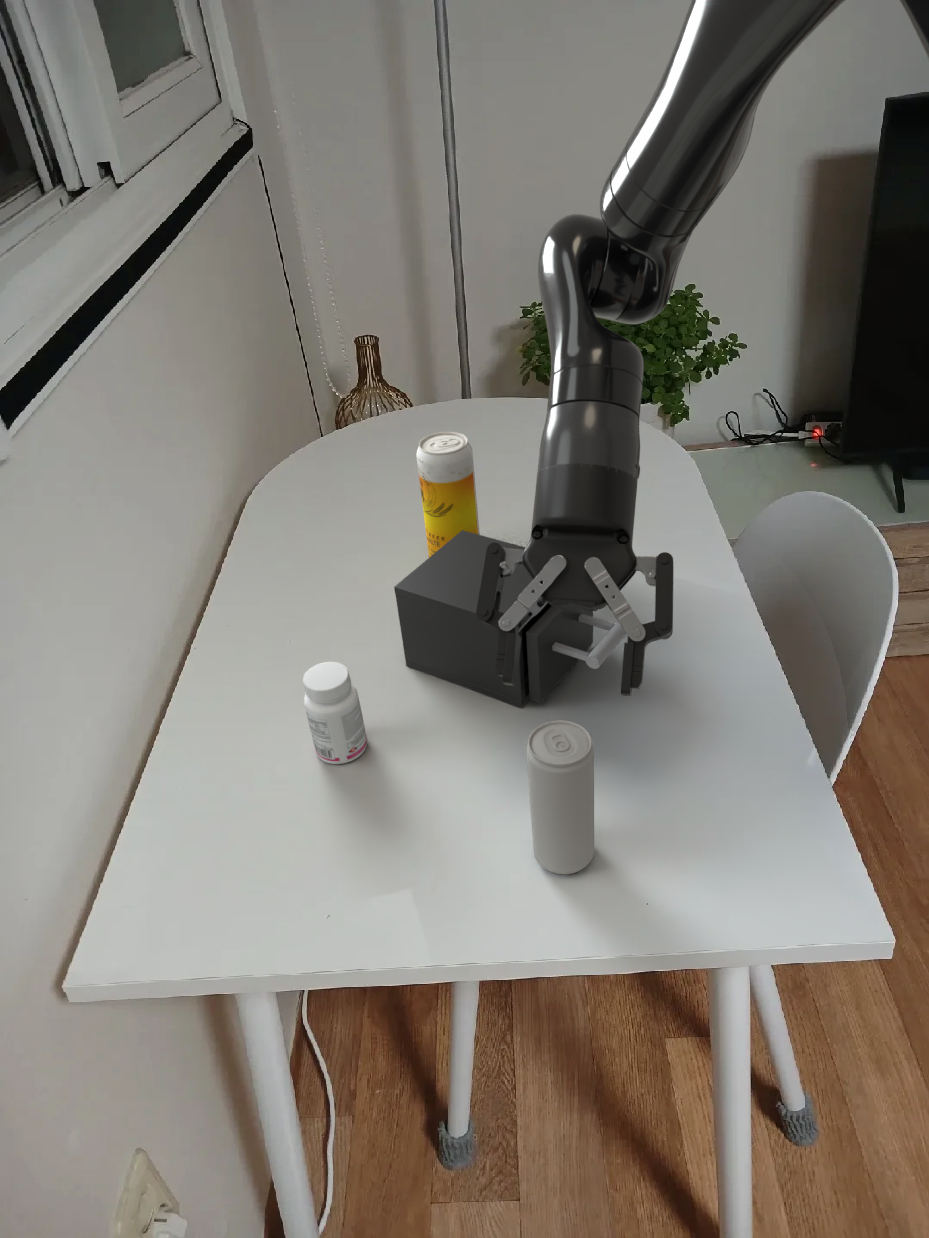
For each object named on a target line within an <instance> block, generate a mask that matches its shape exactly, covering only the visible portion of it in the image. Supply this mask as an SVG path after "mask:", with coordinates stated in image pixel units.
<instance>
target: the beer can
mask: <svg viewBox="0 0 929 1238" xmlns="http://www.w3.org/2000/svg"><path fill="white" fill-rule="evenodd" d="M473 453H474V451H473V446H472V445H471V443H470V442H469V439H468V437H467V436H466V435H465V434H463V433H461V432H456V431H440V432H434V433H430V434H428V435H426V436H424V437H423V438H422V439H420V440H419V442H418V448H417V451H416V453H415V456H416V464H417V471H418V479H419V488H420V495H421V504H422V512H423V521H424V528H425V537H426V545H427V552H428V558H429V557H431V556H432V555H433V554H434V553H435V552H437V551H438V550H439V549H440V548H441V547H443V546H444V545H445V544H446V543H447V542H449V541H450V540H451V539H452V538H453V537H455V536H456V535H457V534H458V533H459V532H461V531H462V530H463V531H467V532H471V533H474V534H478V535H481V533H480V523H479V521H480V520H479V511H478V510H479V509H478V500H477V487H476V475H475V464H474V454H473Z"/></svg>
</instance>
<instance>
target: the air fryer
mask: <svg viewBox="0 0 929 1238" xmlns="http://www.w3.org/2000/svg"><path fill="white" fill-rule="evenodd" d="M493 542H496V543H499V544H500V545H501V546H502V547H504V548H513V549H521V550H524V549H525V548H526V546H522V545H518V544H515V543H511V542H508V541H503V540H500V539H496V538H493V537H489V536H485V535H481V534H480V535H478V534H474V533H471V532H467V531H463V530H462V531H461V532H459V533H458V534H457V535H456V536H455V537H453V538H452V539H451V540H450V541H449V542H447V543H446V544H445V545H444V546H443V547H441V548H440V549H439V550H438V551H437V552H435V553H434V554H433V555H432V556H431V557H429V556H428V558H426V560H424V561H423V562H422V563H421V564H419V565H418V566H417V567H416V568H415V569H414V570H412V571H411V572H410V573H408V575H406V576H405V577H404V578H403V579H402V580H401V581H399V582H398V583H396V585H394V586H393V587H394V594H395V595H394V596H395V601H396V607H397V615H398V620H399V627H400V633H401V640H402V647H403V654H404V659H405V661H404V662H405V666H407V667H409V668H411V669H414V670H416V671H419V672H422V673H425V674H428V675H430V676H433V677H435V678H437V679H440V680H444V681H447V682H449V683H451V684H455V685H457V686H460V687H462V688H465V689H468V690H470V691H473V692H476V693H479V694H482V695H484V696H487V697H490V698H493V699H495V700H498V701H501V702H503V703H507V704H508V705H512V706H514V707H517V708H519V709H523V708H524V707H525V706H526V704H528V703H529V701H531V700H530V694H529V680H528V681H527V682H526V683H525V678H524V661H523V644H522V629H521V631H520V632H519V634H518V635H519V636H520V637H521V647H520V657H519V667H518V677H517V684H516V686H512V685H505V684H503V677H501V676H499V675H497V672H496V668H495V667H496V657H497V647H498V638H499V633H498V631H497V629H496V628H494V627H491V626H489V625H486V624H485V623H484V622H482V621H481V620H480V619H478V617H477V616H476V609H477V603H478V597H479V591H480V585H481V579H482V574H483V568H484V562H485V556H486V550H487V547H488V545H489V544H491V543H493ZM531 582H532V579H531V577H530V575H529V574H528V572H527V570H526V569H525V567H524V565H523V564H520V565H518V566H517V567H516V568H515V570H514V573H513V574H512V575H511V576H509V577H505V579H504V585H503V591H502V597H501V603H500V609H499V611H500V612H502V613H504V614H505V613H506V611H507V610H508V609H509V608H510V607H511V606H512V605H513V604H514V603H515V601H516V600H517V598H518V596H519V595H520V594H521V593H522V591H523V590H524V589H525V588H526V587H527V586H528V585H529V584H530V583H531ZM534 592H535V591H533V593H534ZM539 600H541V598H540V599H539Z"/></svg>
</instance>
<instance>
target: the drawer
mask: <svg viewBox="0 0 929 1238" xmlns="http://www.w3.org/2000/svg"><path fill="white" fill-rule="evenodd" d="M594 627H595V628H598V629H602V630H605V631H607V633H606V634H605V635H604V636H603V637H602V638H601V640H600V641H599V642H598V643H597V644H596V645H595V647H593V648H592V650H591V651H590V652H587V651H588V649H589V648H591V646H592V645H593V643H594ZM626 636H627V634H626V632H625V631H624V629H623V628H622V626H621V625H620V623H619V622H618V620H616V622H615V623H614V622H611V621H607V620H604V619H601V618H598V617H594V611H586V610H583V609H581V608H578V607H575V608H570V609H556V608H555V607H554V606H552V605H550V604H548V603H547V604H546V605H545V606H544V608H543V609H542V610H541V611H540V612H539V613H538V614H537V615H536V616H534V617H533V618H532V619H531V620H530V621H529V622H528V623H527V624H526V625H525V626H524V627H523V628H522V644H523V661H524V678H525V683H526V682H527V681H528V680H529V694H530V700H529V701H533V702H536V703H538V704H542V703H543V702H544V701H545V699H546V698H547V697H548V695H550V693H551V692H552V691H553V690H554V688H555V687H556V686H557V685H558V684H559V683H560V682H561V681H562V679H563V678H564V677H565V676H566V675H567V673H569V671H570V670H571V669H572V668H573V667H574V666H575V664H577V662H578V661H579V660H581V661H584V662H585V663H586V665H587V666H588V667H589V668H591V669H594V670H596V669H599V668H600V666H601V665H602V664H603V663H604V662H605V661H606V659H608V657H609V656H610V655H611V654H612V653H613V651H614V650H615V649H616V647H617V646H618V645H619V644H620V643H621V641H622V640H623V639H624V638H625V637H626Z"/></svg>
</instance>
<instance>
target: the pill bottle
mask: <svg viewBox="0 0 929 1238" xmlns="http://www.w3.org/2000/svg"><path fill="white" fill-rule="evenodd" d="M302 683H303V688H304V692H305V694H304V696H303V697H304V698H303V705H304V710H305V715H306V718H307V724H308V726H309V727H308V728H309V730H310V734H311V738H312V742H313V743H312V744H313V746H314V750H315V753H316V755H317V757H318V758H319V759H320V760H321V761H323V762H324V763H327V764H332V765H340V764H346V763H350V762H353V761H354V760H356V759H358V758H359V757H360V756H361V755H362V754H363V753H364V752H365V750H366V748H367V744H368V737H367V732H366V726H365V722H364V715H363V711H362V706H361V702H360V697H359V693H358V689H357V688H356V686H355V685H354V683H352V678H351V675H350V672H349V669H348V668H347V666H346V665H344V664H342V663H340V662H337V661H324V662H320V663H317V664H314V665H313V666H311V667H310V668H308V670H306V672H305V673H304V674H303V677H302Z"/></svg>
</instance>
